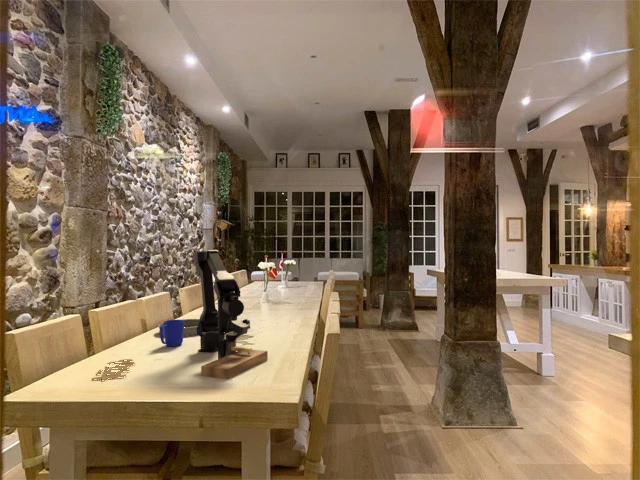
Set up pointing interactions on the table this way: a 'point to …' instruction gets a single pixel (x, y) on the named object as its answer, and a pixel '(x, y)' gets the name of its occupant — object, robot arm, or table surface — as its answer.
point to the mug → (172, 332)
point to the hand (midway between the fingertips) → (226, 356)
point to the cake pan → (188, 326)
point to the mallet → (234, 349)
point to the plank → (233, 364)
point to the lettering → (112, 374)
